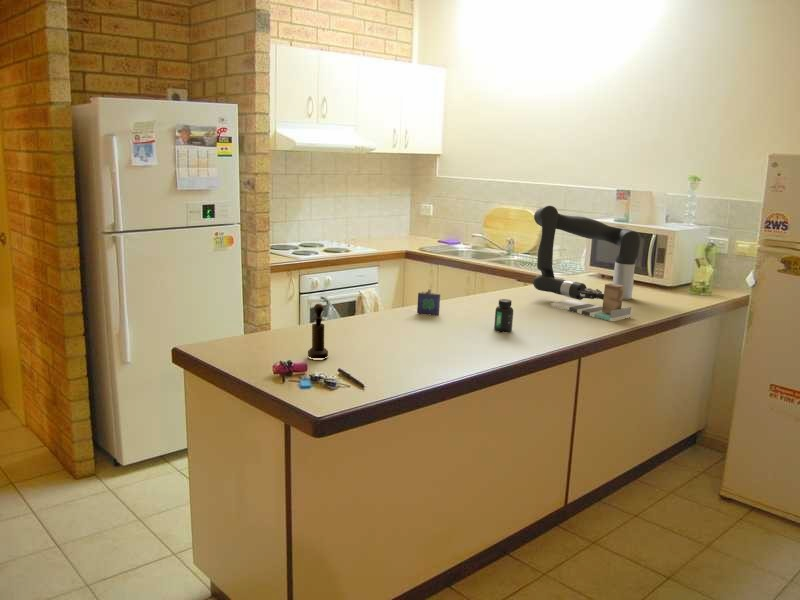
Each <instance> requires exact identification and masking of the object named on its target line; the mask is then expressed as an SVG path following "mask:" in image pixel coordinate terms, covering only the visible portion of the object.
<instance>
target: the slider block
mask: <svg viewBox="0 0 800 600" xmlns="http://www.w3.org/2000/svg"><path fill="white" fill-rule="evenodd" d="M623 290H624V286H622V285H618V284H613V282H612V283H606V284H604V291H603V294H604V298H603V300H602V306H601V307H602V312H605V313H609V314H611V311H612V310H617V309H622V304H623V300H622V298H623Z"/></svg>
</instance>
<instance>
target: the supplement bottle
mask: <svg viewBox="0 0 800 600" xmlns="http://www.w3.org/2000/svg"><path fill="white" fill-rule="evenodd" d="M512 301H513V300H511V299H508V298H507V299H506V298H499V299H498V306H496V308H495V311H494V312H495V314H494V326H493V330H494V331H495V332H497V331H499V332H498V333H502V332H508V333H511V332H512V330H513V322H514V321H513V320H514V309H513V307H512Z"/></svg>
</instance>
